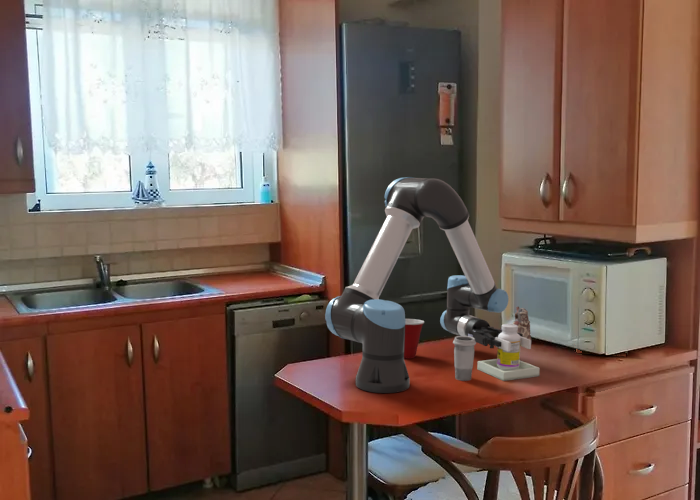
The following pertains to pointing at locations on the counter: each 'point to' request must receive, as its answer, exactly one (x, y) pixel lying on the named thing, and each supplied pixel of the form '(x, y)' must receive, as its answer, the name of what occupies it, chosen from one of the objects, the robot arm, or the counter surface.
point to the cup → (463, 357)
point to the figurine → (522, 322)
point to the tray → (503, 374)
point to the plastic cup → (412, 337)
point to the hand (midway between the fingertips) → (519, 345)
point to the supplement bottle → (513, 356)
